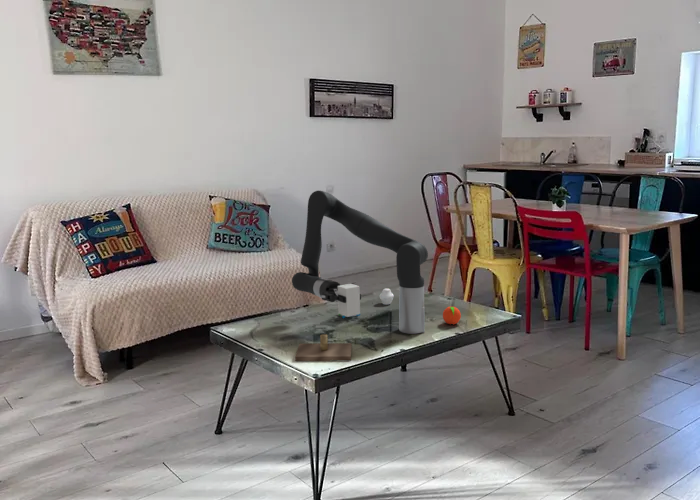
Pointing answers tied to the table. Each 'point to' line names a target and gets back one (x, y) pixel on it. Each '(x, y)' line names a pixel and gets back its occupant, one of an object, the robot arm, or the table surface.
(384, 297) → the white vase
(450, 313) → the clementine
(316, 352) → the base plate
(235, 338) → the table surface
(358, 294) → the block
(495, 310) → the table surface
